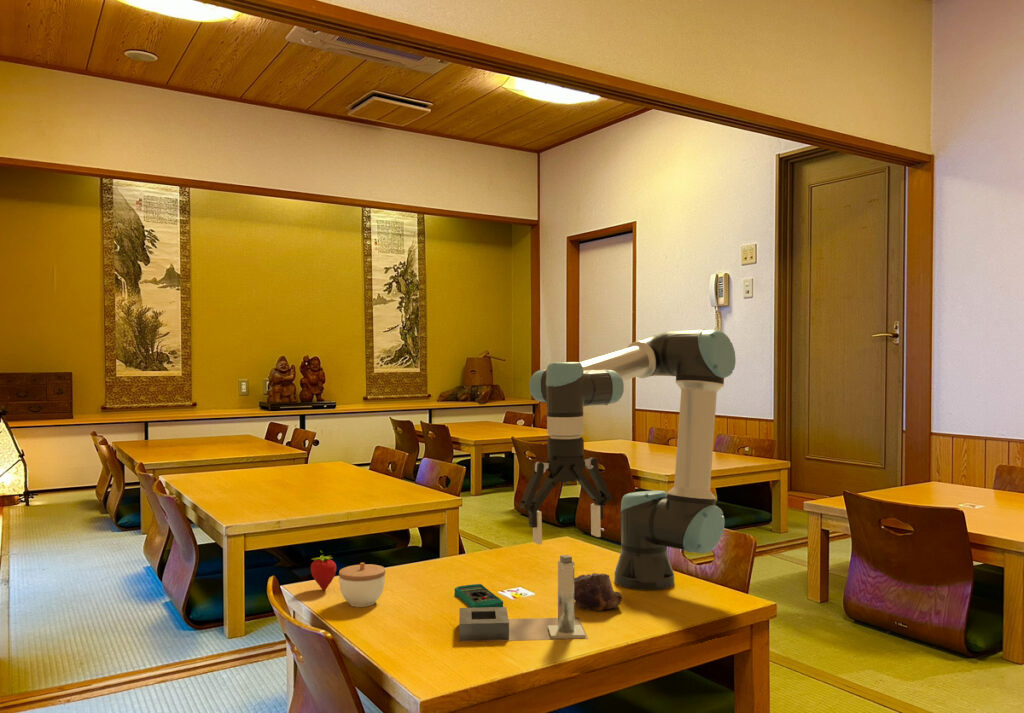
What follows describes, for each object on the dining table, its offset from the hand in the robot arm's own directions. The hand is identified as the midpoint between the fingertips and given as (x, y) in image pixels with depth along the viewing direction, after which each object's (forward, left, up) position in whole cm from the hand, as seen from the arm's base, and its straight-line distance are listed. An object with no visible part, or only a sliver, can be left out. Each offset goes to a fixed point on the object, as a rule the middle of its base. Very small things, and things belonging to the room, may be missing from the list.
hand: (567, 539), depth 159 cm
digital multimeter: (+18, -23, -21) cm, 36 cm away
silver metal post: (0, 0, -19) cm, 19 cm away
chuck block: (+17, -2, -19) cm, 26 cm away
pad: (0, 0, -19) cm, 19 cm away
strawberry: (+56, -36, -20) cm, 70 cm away
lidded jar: (+45, -25, -20) cm, 55 cm away
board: (+9, -3, -20) cm, 22 cm away
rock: (-8, -16, -20) cm, 27 cm away
